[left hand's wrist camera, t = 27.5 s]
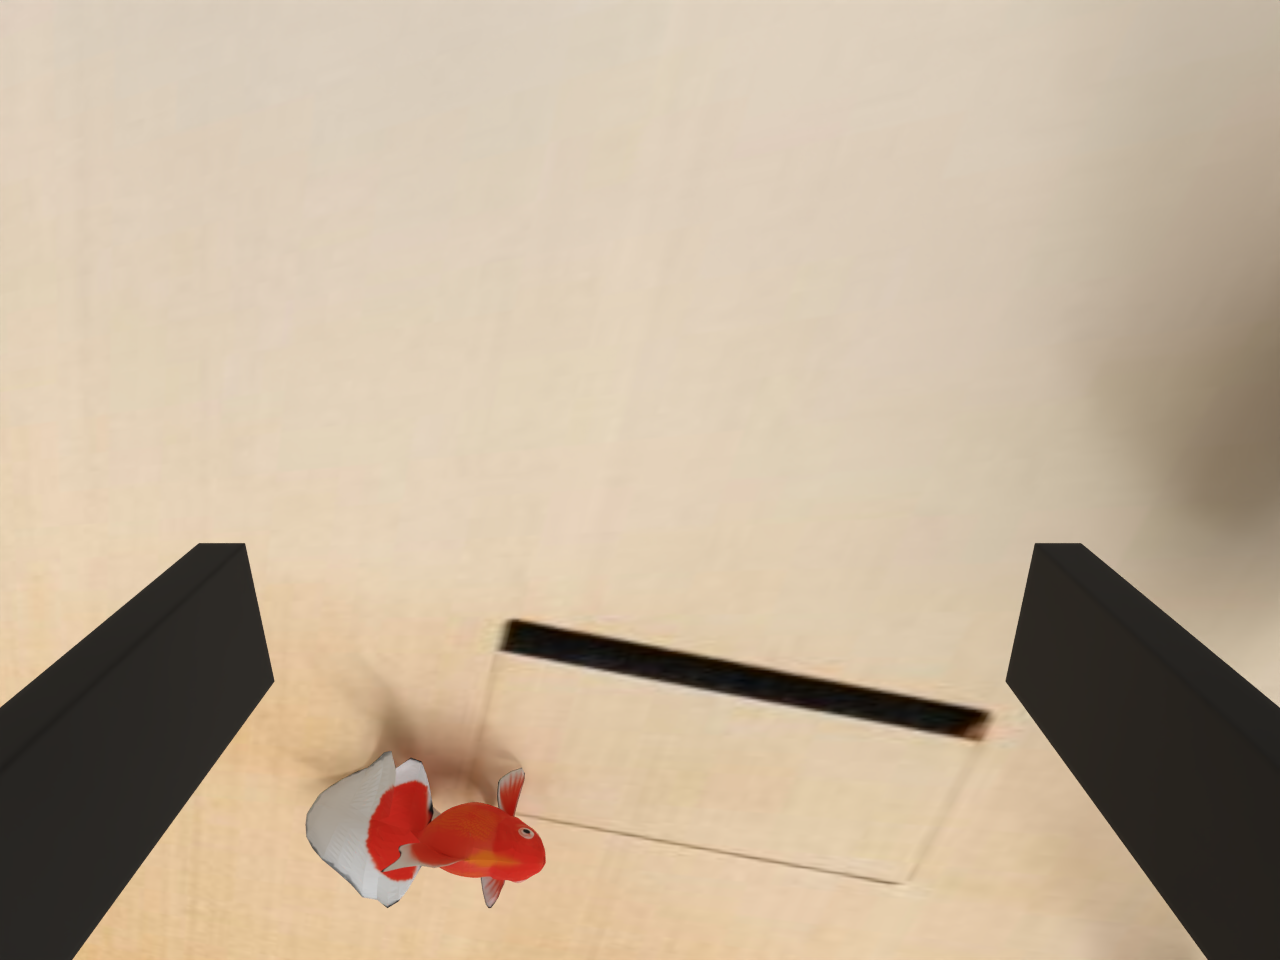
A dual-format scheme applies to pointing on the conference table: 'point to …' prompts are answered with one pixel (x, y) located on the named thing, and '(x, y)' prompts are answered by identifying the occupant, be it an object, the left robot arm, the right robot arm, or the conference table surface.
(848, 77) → the conference table surface
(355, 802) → the fish
